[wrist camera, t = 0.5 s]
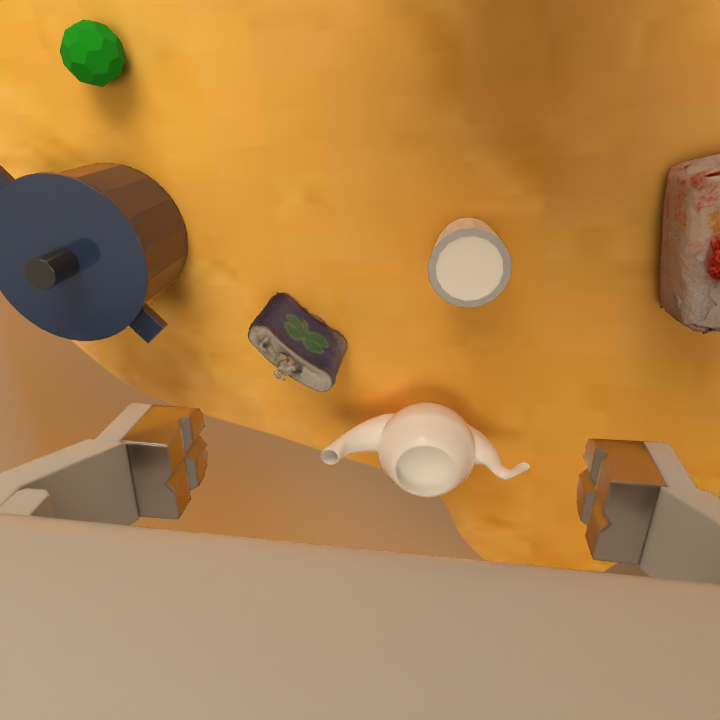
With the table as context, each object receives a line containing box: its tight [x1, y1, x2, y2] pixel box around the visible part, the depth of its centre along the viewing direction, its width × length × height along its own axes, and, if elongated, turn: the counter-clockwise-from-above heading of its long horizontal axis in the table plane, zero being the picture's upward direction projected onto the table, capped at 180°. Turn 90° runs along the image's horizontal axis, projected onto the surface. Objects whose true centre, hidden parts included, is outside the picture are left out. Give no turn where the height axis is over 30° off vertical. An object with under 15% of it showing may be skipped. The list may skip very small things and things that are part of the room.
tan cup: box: [428, 217, 511, 308], centre depth 53 cm, size 7×7×7 cm
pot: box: [0, 163, 187, 343], centre depth 56 cm, size 14×19×10 cm
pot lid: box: [0, 172, 150, 341], centre depth 50 cm, size 15×15×5 cm
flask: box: [248, 292, 347, 392], centre depth 57 cm, size 9×3×11 cm, turn 52°
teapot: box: [321, 402, 530, 497], centre depth 60 cm, size 10×20×9 cm, turn 85°
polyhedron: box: [60, 20, 125, 87], centre depth 51 cm, size 5×5×5 cm
